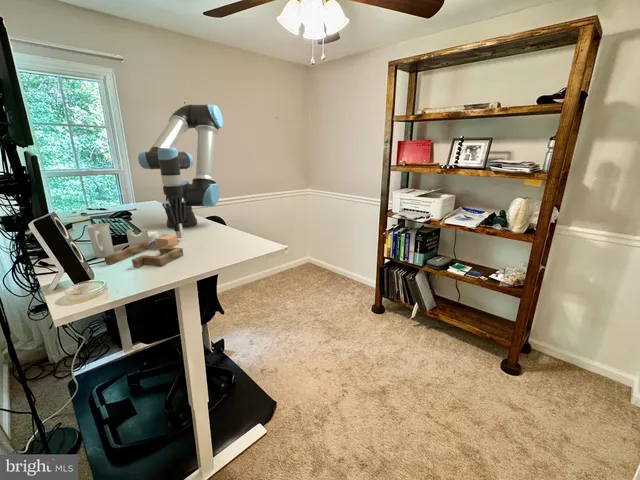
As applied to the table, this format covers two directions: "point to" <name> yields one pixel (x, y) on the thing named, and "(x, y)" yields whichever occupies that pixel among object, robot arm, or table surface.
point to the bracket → (141, 237)
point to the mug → (101, 239)
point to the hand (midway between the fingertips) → (180, 237)
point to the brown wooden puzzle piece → (166, 251)
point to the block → (166, 240)
